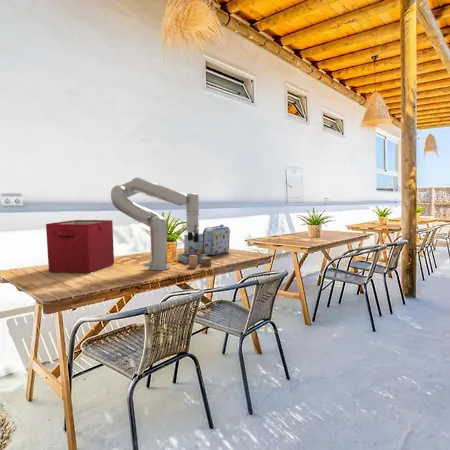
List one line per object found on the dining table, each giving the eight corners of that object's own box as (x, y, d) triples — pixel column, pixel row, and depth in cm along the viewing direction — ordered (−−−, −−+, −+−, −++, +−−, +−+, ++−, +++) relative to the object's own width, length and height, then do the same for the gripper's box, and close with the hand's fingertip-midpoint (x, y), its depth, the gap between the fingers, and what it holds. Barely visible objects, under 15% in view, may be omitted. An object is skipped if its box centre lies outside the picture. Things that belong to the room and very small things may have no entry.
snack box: (189, 255, 247) (189, 235, 246) (184, 254, 251) (183, 234, 249) (207, 251, 264) (207, 232, 263) (202, 251, 268) (202, 232, 266)
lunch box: (220, 250, 268) (220, 223, 267) (231, 251, 263) (231, 223, 261) (200, 255, 245) (200, 226, 243) (212, 257, 240) (212, 226, 238)
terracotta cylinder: (190, 267, 203) (190, 256, 203) (188, 266, 208) (187, 255, 207) (198, 266, 205) (198, 255, 205) (195, 265, 210) (195, 254, 209)
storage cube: (87, 275, 186) (85, 223, 184) (44, 273, 191) (42, 223, 189) (117, 263, 217) (115, 219, 215) (79, 262, 223) (78, 219, 220)
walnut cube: (203, 266, 206) (203, 258, 205) (200, 265, 210) (200, 257, 210) (211, 266, 208) (210, 258, 208) (207, 264, 212) (207, 257, 212)
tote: (186, 264, 213) (186, 258, 213) (178, 259, 229) (178, 254, 229) (206, 262, 219) (206, 256, 219) (196, 258, 235) (196, 252, 235)
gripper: (182, 213, 210) (182, 240, 211) (191, 214, 194) (192, 243, 196) (193, 212, 213) (193, 239, 215) (203, 213, 198) (204, 242, 199)
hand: (193, 241), depth 205 cm, fingers open, 9 cm apart
